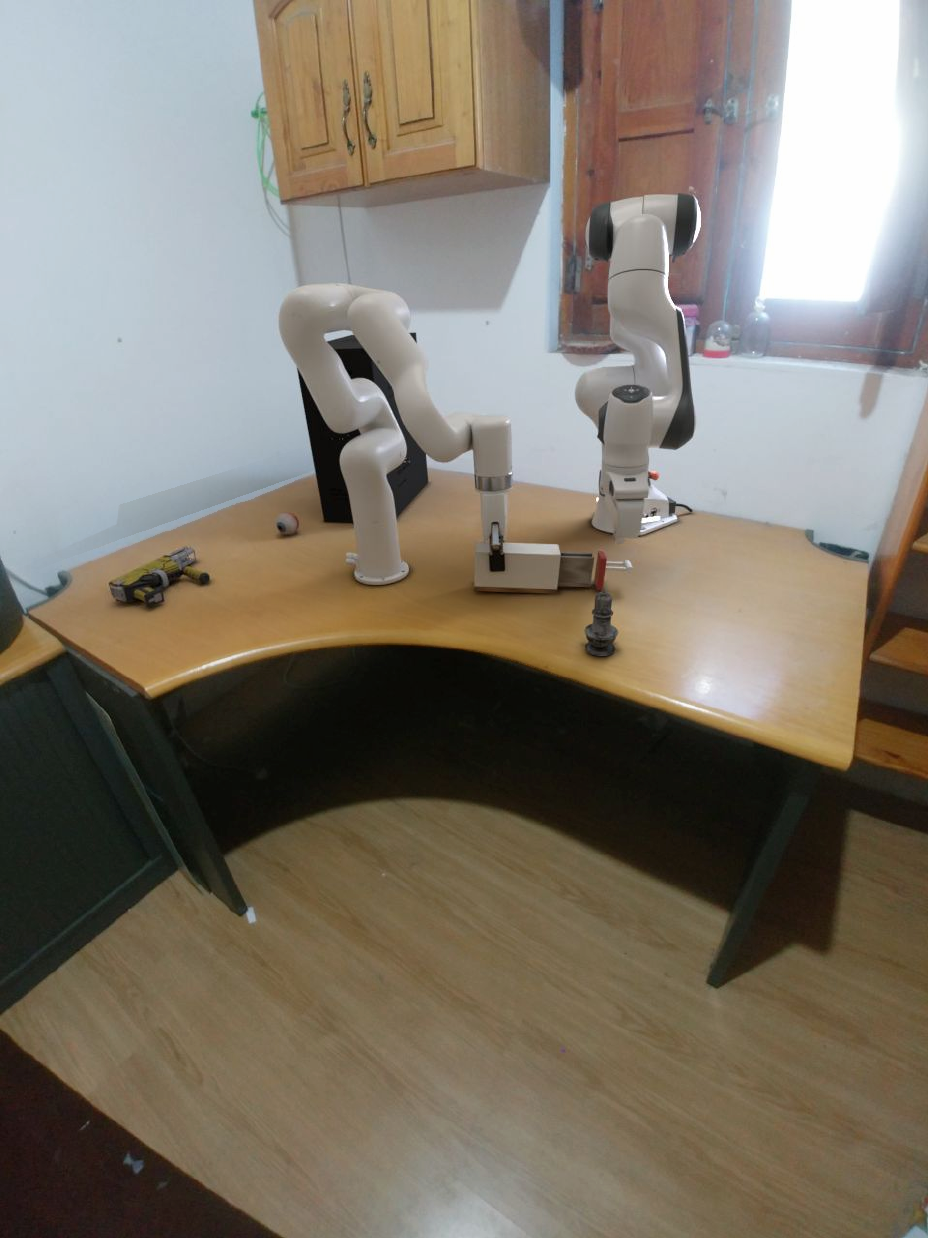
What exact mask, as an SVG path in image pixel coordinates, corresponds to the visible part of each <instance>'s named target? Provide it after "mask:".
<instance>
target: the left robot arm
mask: <svg viewBox="0 0 928 1238" xmlns="http://www.w3.org/2000/svg"><path fill="white" fill-rule="evenodd" d="M411 320H412V319H411V312H410V308H409V306H408V305H407V303H406V301H405V300H404V299H403V297H401V296H400V295H398V294H397V293H395V292H393V291H390V290H383V289H376V288H371V287H365V286H359V285H354V284H349V283H343V282H330V283H314V284H313V283H311V284H306V285H301V286H298V287H296V288H294V289H292V290H291V291H290V292H288V293H287V294H286V296H285V297H284V298H283V300H282V302H281V305H280V307H279V312H278V330H279V335H280V338H281V342H282V343H283V345H284V348H285V349H286V352H287V353H288V355H289V356H290V359H292V361H293V363H294V364H295V367H296V369H297V368H298V370H299V371H300V373H301V375H302V377H303V379H304V381H305V383H306V385H307V387H308V389H309V391H310V393H311V395H312V397H313V399H314V401H315V403H316V405H317V407H318V409H319V411H320V413H321V415H322V417H323V419H324V420H325V422H326V424H327V425H328V427H329V428H330V429H331V430H333V431H334V432H336V433H348V432H351V431H354V430H356V429H359V431H360V433H361V435H360V436H357V437H355V438H354V439H352V440H350V441H349V442H348V443H347V444H346V445H345V446H344V448H343V449H342V452H341V455H340V467H341V471H342V474H343V477H344V480H345V483H346V486H347V489H348V494H349V499H350V504H351V511H352V516H353V522H352V523H353V528H354V529H353V530H354V535H355V542H356V548H357V553H355V552H346V554H345V564H346V565H349V566H354V567H355V569H354V571H353V575H354V578H355V580H356V581H358V582H359V583H361V584H364V585H369V586H384V585H389V584H393V583H396V582H398V581H401V580H402V579H404V578H405V577H407V575H408V574H409V572H410V569H409V564H408V563H407V562H406V561H404V560H403V559H402V555H401V547H400V539H399V531H398V530H399V529H398V521H397V518H396V511H395V504H394V497H393V493H392V490H391V488H390V485H389V483H388V481H387V478H386V474H388V473H389V472H391V471H392V470H394V469H395V468H397V467H398V466H399V465H401V464H402V462H403V461H404V459H405V457H406V453H407V447H406V442H405V439H404V436H403V434H402V431H401V429H400V427H399V425H398V423H397V421H396V419H395V416H394V414H393V412H392V410H391V408H390V406H389V404H388V402H387V400H386V398H385V396H384V394H383V392H382V391H381V390H380V388H379V387H378V386H377V385H376V384H375V383H373V382H372V381H370V380H368V379H365V378H355V379H352V380H351V378H350V377H349V375H348V373H347V371H346V369H345V367H344V365H343V363H342V361H341V359H340V357H339V355H338V354H337V353H336V351H335V350H334V349H333V348H332V347H331V346H330V345H329V344H328V343H327V339H325V334H329V333H335V332H341V331H349V332H351V333H352V335H354V336H355V337H356V338H357V340H358V341H359V343H360V344H361V345H362V347H363V348H364V349H365V351H366V352H367V353H368V355H369V356H370V357H371V359H372V360H373V361H374V363H375V364H376V365H377V367H378V368H379V369H380V371H381V372H382V374H383V375H384V376H385V378H386V379H387V380H388V382H389V383H390V385H391V386H392V388H393V391H394V396H395V401H396V404H397V407H398V410H399V414H400V416H401V419H402V421H403V423H404V425H405V427H406V428H407V430H408V432H409V433H410V434H411V436H412V437H413V438H414V440H415V441H416V442H417V444H418V445H419V446H420V448H421V449H422V450H423V451H424V452H425V453H426V456H428V457H429V458H430V459H432V461H435V462H438V463H443V464H444V463H450V462H453V461H454V460H456V459H458V458H459V457H460V456H461V455H463V454H466V453H467V452H470V451H472V457H473V458H472V459H473V471H474V474H473V475H474V490H475V491H476V492H477V493H480V519H481V540H482V542H489V544H490V553H489V566H490V572H502V571H505V553H503V543H505V541H506V540H507V529H508V492H510V491H512V490H513V489H514V472H513V471H514V470H513V435H512V432H513V431H512V421H511V420H510V418H509V417H508V416H506V415H503V414H485V415H480V414H475V413H471V412H466V411H465V412H464V411H457V412H453V413H451V414H449V415H447V416H445V417H444V416H443V414H442V413H441V412H440V410H439V409H438V408H437V406H436V405H435V403H434V401H433V400H432V398H431V394H430V393H429V390H428V386H427V373H428V367H429V361H428V357H427V356H426V354H425V353H424V352H423V350H422V349H421V347H420V346H419V345H418V342H417V343H416V342H415V341H414V339H413V338H412V336H411V335H410V334H409V333H410V332H409V328H410V325H411ZM492 542H493V545H492ZM499 542H500V545H499Z"/></svg>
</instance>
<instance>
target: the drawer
mask: <svg viewBox="0 0 928 1238" xmlns="http://www.w3.org/2000/svg"><path fill="white" fill-rule="evenodd" d="M560 554H561V557H560V566H559V576H558V585H557V587H573V588H574V587H576V588H591V587H592V586H591V584H592V577H593V569H594V563H595V557H594V555H593V552H581V551H579V552H578V551H560ZM606 571H622V572H623V571H624V572H626V573H628V574H632V573H633V572H634V567H633V565H632V563H631V561H630V560H629V559H625V560H624V561H608V559H607V556H606V554H605V551H604V550H598V551H597V556H596V564H595V569H594V579H593V582H594V585H595V589H596V591H602V590H603V589H604V582H605V574H606Z"/></svg>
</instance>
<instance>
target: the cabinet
mask: <svg viewBox="0 0 928 1238" xmlns="http://www.w3.org/2000/svg"><path fill="white" fill-rule="evenodd" d="M492 545H493V542H492ZM499 545H500V542H499ZM560 552H561V550H560V546H559V544H558V543H557V544H556V543H528V542H527V543H525V542H504V543H503V553H505V571H502V572H490V566H489V553H490V544H489V541H485V542H484V541H476V542H475V549H474V581H473V582H474V585H473V591H474V592H499V593H523V594H525V593H527V594H551V595H553V594H554V595H556V594H558V586H557V585H558V576H559V566H560V557H561V554H560Z"/></svg>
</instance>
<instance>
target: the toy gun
mask: <svg viewBox="0 0 928 1238" xmlns="http://www.w3.org/2000/svg"><path fill="white" fill-rule="evenodd" d="M192 554H193V556H194V558H193V557H190V555H192ZM196 561H197V556H196V551H195V549H194V548H193V547H188V546H186V545H185V546H183V547H181V548H179V549H177V550H175V551H173V552H170V553H169V554H164V555H162V556H160V557H158V558H156V559H154V560H151V561H150V562H148V563H145V564H144V565H141V566H139V567H137V568H135V569H133V570H130V571H129V572H127V573H125V574H123V575H120V576H118V577H117V578H114V579H112V580H110V581H109V582H108V587H109V589H110V595H111V597H112V599H113V600H115V602H117V603H118V602H119V603H123V602H125V603H131V602H135V601H139V600H140V601H142V602H144V603H145V605H146V608H147V609H150V608H153V607H155V606H157V605H159V604H162V603H164V602H165V597H164V593H163V589H166V588H167V587H169V584H170V582H173V581H175V580H177V579H180V578H181V577H182V576H185V577H187V578H190V579H192V580H195V581H197V582H198V581H199V582H200V583H201V584H207V583H208V582H210V577H211V576H210V573H208V572H205V571H202V570H198V569H196V568H194V567H191V566H189V565H191V564H193V563H195V562H196Z"/></svg>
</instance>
